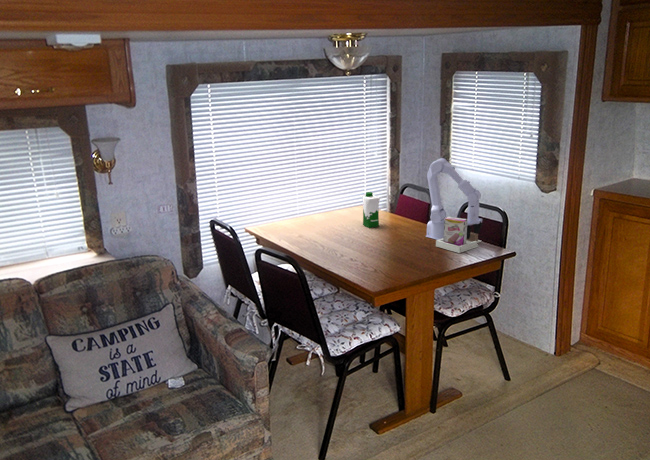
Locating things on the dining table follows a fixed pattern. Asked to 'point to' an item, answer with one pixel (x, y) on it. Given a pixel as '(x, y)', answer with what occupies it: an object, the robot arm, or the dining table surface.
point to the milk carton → (370, 210)
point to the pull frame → (469, 245)
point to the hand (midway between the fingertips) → (471, 237)
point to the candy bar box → (455, 231)
